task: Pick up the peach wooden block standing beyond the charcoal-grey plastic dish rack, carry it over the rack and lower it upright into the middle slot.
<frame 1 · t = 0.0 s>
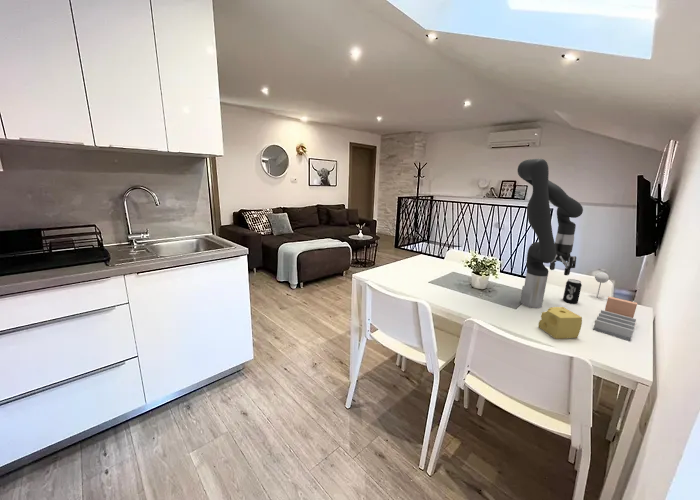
hand: (558, 272, 150), 17 cm above the table, tool pointing down, fingers open, 8 cm apart
peach wooden block: (617, 319, 136), on the table
beverage can: (569, 301, 156), on the table
cheese: (557, 333, 124), on the table
dish rack: (613, 328, 128), on the table
lollipop: (596, 298, 161), on the table
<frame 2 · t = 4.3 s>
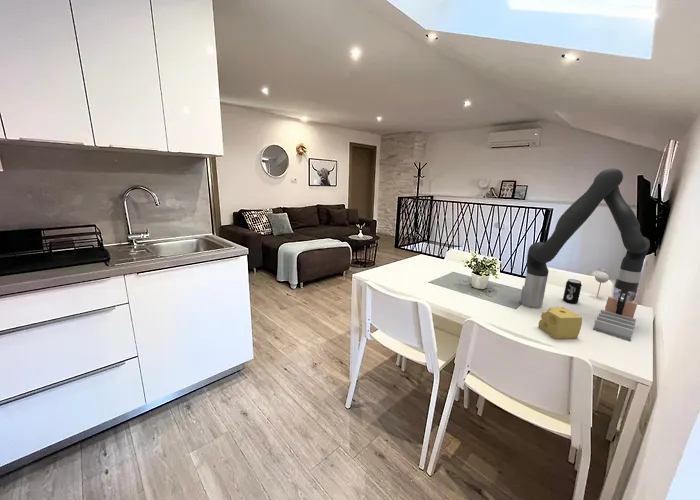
hand: (618, 313, 135), 3 cm above the table, tool pointing down, fingers closed on peach wooden block, 2 cm apart
peach wooden block: (617, 319, 136), on the table, touching gripper
everything else where it was.
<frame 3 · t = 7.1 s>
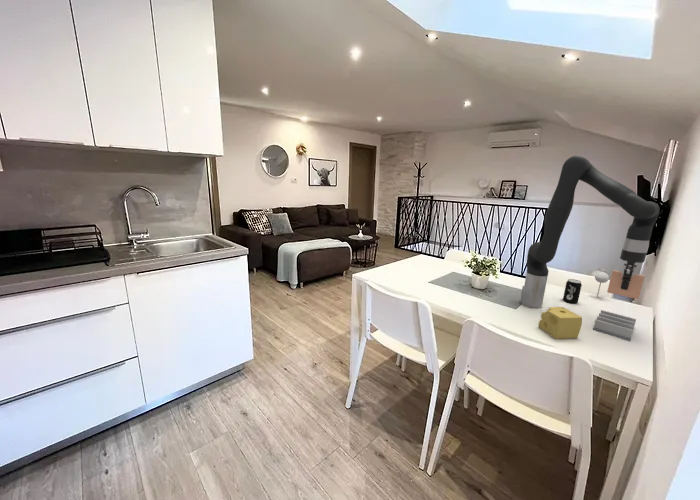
hand: (624, 288, 124), 19 cm above the table, tool pointing down, fingers closed on peach wooden block, 2 cm apart
peach wooden block: (622, 294, 125), point 16 cm above the table, touching gripper
everything else where it was.
when the fingers open (6 cm above the table, at t = 10.0 s): peach wooden block drops 1 cm, resting on dish rack.
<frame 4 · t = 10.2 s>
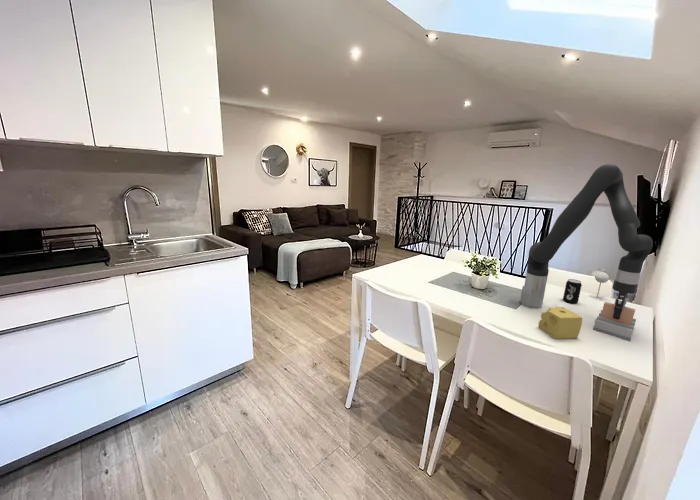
hand: (616, 316, 126), 6 cm above the table, tool pointing down, fingers open, 4 cm apart
peach wooden block: (614, 326, 128), point 1 cm above the table, touching dish rack
everything else where it was.
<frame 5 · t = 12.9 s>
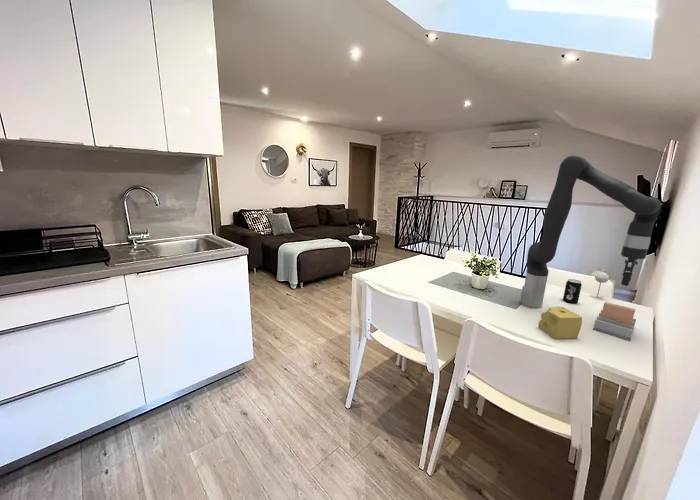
hand: (625, 282, 122), 22 cm above the table, tool pointing down, fingers open, 8 cm apart
nothing on the table moved.
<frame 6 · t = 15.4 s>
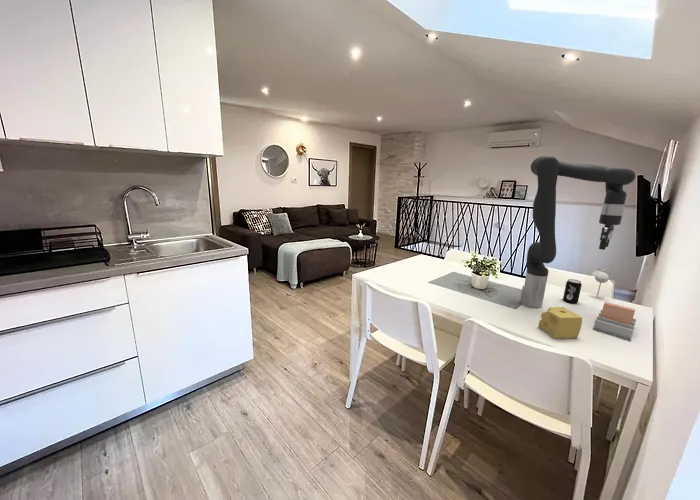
hand: (603, 247, 136), 33 cm above the table, tool pointing down, fingers open, 8 cm apart
nothing on the table moved.
at the end: peach wooden block 0.1 cm from the target spot, point 1.0 cm above the table; peach wooden block tilted 0°; the gripper is holding nothing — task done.
